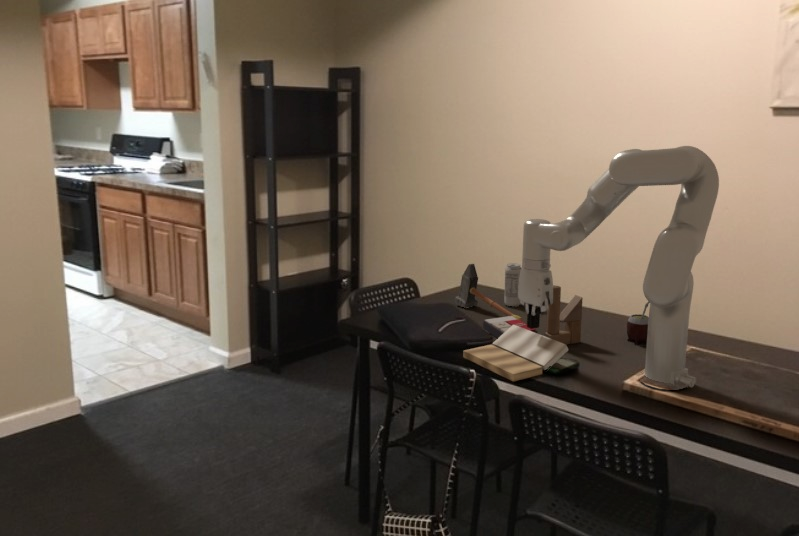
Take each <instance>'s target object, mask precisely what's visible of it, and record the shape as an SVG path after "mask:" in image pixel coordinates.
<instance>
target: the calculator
mask: <svg viewBox="0 0 799 536" xmlns="http://www.w3.org/2000/svg"><path fill="white" fill-rule="evenodd" d="M513 324H514V325H516V326H519V327H522V328H524V329H527V330H529V331H532V332H535V333H537V334H538V330H536V329H537V328H534V329H530V328H528V327H527V322H526V323H525V322H524V321H520V320H519V319H516V318H514V317H513V316H503V317H494V318H488V319H483V322H482V329H483V328H484V329H485V330H487V331H488V332H489V333H491V334H492V335H491V334H490V335H491V336H493V338H496V339H497V338H499V337H500V336H501V335H502V334H503V333H504V332H505V331H507V330H508V329H509V328H510V327H511V326H512V325H513Z"/></svg>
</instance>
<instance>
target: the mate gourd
mask: <svg viewBox="0 0 799 536" xmlns="http://www.w3.org/2000/svg"><path fill="white" fill-rule="evenodd" d="M649 305H650V302H649V301H648V300H647V302H646V303H645V305H644V309H643V312H642V314H631V315H630V316H629V317H628V319H627V321H626V334H627V339H626V340H627V342H632V343H634V345H635V346H638V345H639V344H640V343H641V344H646V345H647V334H648V321H649V315H645V313H646V311H647V308H648V307H649Z"/></svg>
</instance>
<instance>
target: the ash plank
mask: <svg viewBox="0 0 799 536" xmlns="http://www.w3.org/2000/svg"><path fill="white" fill-rule="evenodd" d="M491 345H493V346H496V347H498V348H500V349H503V350H505V351H507V352H509V353H512V354H514V355H516V356H519V357H521V358H523V359H525V360H528V361H530V362H532V363H535V364H537V365H539V366H541V367H542V371H545V370H546V369H547V367H549V366H551V367H553V365H554V364H556V363H557V362H558V361H559V360H560V359H561V358H562V357H563V356H564V355H565V354H566V353H567V352H568V351H569V348H568V346H567V345H568V344H563V343H561V342H558V341H556V340H553V339H550V338H548V337H545V336H544V335H542V334H540V333H538V332H537V333H535V332H532V331H529V330H527V329H524V328H522V327H519V326H516V325H514V324H513V325H512V326H511V327H510V328H509V329H508V330H507V331H505V332H504V333H503V334H502V335H501V336H500V337H499V338H498V339H497V338H496V339H495V341H493V342H492V344H491Z"/></svg>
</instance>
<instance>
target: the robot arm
mask: <svg viewBox="0 0 799 536" xmlns="http://www.w3.org/2000/svg"><path fill="white" fill-rule="evenodd" d="M719 177H720V176H719V173H718V169H717V167H716V165H715V162H714V161H713V160H712V159H711V157H710V156H708V154H706V152H704V151H703V150H702V149H699V148H698V147H694V146H692V145H682V146H677V147H672V148H671V147H670V148H660V149H658V148H657V149H645V150H642V149H640V148H630V149H626V150H623V151H620V152H618V153H617V154H616V155H614V157H613V158H612V159H611V161H610V163H609V167H608V168H607V170H606V171H604V172H603V173H602V175H601V176H600V177H598V179H597V180H595V181H594V183H592V184H591V185H590V186H589V188H588V190H587V191H586V193H587V194H586V197H585V199H584V201H583V202H582V203H581V204H580V205H579V206H578V208H576V209H575V210H574V211H573V212H572V213H571V215H569V216H568V217H567V218H566V219H564V220H561V221H560V222H555V223H551V222H550V220H548V219H542V218H530V219H527V220H525V222H524V224H523V231H522V232H523V233H522V234H523V235H522V257H521V261H522V263H521V264H522V265H521V266H520V267H521V271H520V277H519V285H518V298H519V299H520V303H521V304H520V305H522V306H524V308H525V313H526V314H527V315H526V316H527V319H526V320H527V321H526V324H527V327H528V328H530V329H538V328H540V321H541V320H540V319H541V317H540V316H541V315H542V314H543V312H545V313H546V312H548V311H549V307H548V305H552V303H553V285H554V281H553V273H552V270H550V269H551V250H553V251H558V252H563V251H565V252H566V251H567V250H570V249H571V248H573V247H575V246H577V245H580V244H581V243H582V242H583V241H585V240H586V239H587V238H588V237H589V236H590V235H591V234H592V233H593V232H594V231H595V230H596V229H597V228H598V227H599V226H600V225H601V224H602V223H603V222H604V221H605V220H606V219H607V218H608V217H609V216H610V215H611V214H612V213H613V212H614V211H615V209H616V208H618V207H619V206H620V205H621V204H622V203H623V202H624V201H625V200H626V199H627V198H629V196H630V195H631V194H633V192H635V191H636V190H637V189H638V187H648V186H649V187H651V186H652V187H654V186H655V187H656V186H677V185H680V186H681V187H680V192H679V194H678V197H677V200H676V203H675V207H674V210H673V214H672V216H671V219H670V222H669V224H668V225H667V227H665V228H664V229H663V230H662V231H661V232H660V233H659V235H658V236H657V238H656V240H655V243H654V246H653V248H652V252H651V255H650V257H649V262H648V265H647V268H646V271H645V274H644V277H643V281H642V282H643V283H642V291H643V295H644V297H645V299H646V300H647V302H648V301H649V302H650V303H649V310H648V311H649V312H648V317H649V321H648V334H647V344H646V349H645V351H646V352H645V361H644V362H645V364H644V365H645V366H644V370H642V371H640V372H639V373H638V375H639V374H640V373H642V372H643V371H645V376H646V377H648V378H649V379H652V380H655V381H659V382H664V383H671V384H673V385H674V384H684V385H686V386H689V387H688V388H693V387H694V386H695V384H696V382H697V377H696V376H692V375H690V374H689V368H687V367H686V360H687V357H686V356H687V347H688V345H687V344H688V335H689V324H690V314H691V313H690V311H691V307H692V306H691V304H692V297H693V291H694V284H695V282H694V275H693V273H692V268H693V266H694V262H695V259H696V257H697V256H698V255H699V254H700V253H701V251H702V249H703V247H704V244H705V240H706V236H707V232H708V229H709V226H710V223H711V220H712V215H713V213H714V209H715V206H716V202H717V198H718V195H719V189H720V188H719V187H720V178H719Z"/></svg>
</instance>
